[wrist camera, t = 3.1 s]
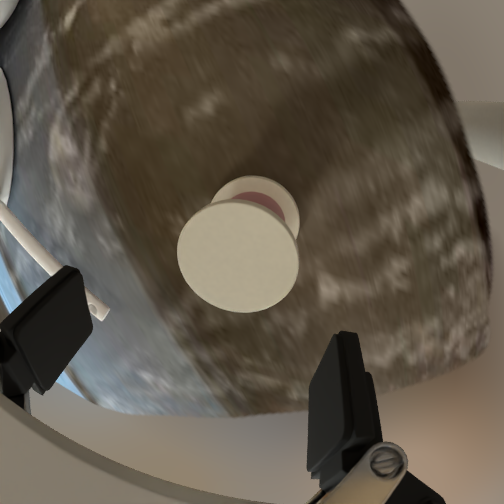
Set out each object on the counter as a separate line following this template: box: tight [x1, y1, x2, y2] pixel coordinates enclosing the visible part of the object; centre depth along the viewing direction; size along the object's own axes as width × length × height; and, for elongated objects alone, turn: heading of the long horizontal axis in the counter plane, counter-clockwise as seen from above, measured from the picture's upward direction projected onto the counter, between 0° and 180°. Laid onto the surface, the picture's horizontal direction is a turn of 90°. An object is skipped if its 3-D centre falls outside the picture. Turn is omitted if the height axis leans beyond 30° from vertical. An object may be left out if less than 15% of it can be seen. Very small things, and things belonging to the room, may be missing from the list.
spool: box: [177, 176, 300, 312], centre depth 16 cm, size 6×6×6 cm
